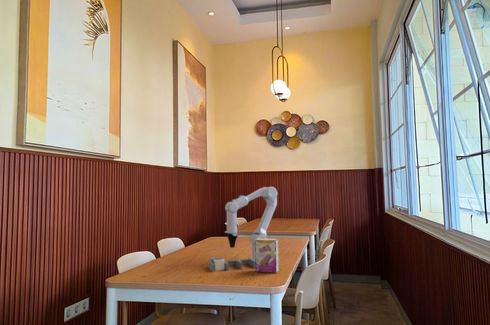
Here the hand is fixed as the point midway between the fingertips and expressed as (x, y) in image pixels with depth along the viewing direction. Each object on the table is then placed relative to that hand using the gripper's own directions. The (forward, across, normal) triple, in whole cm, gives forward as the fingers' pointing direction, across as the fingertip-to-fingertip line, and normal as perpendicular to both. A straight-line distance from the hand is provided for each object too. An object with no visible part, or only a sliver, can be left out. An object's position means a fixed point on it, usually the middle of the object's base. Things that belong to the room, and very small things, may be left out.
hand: (232, 247), depth 201 cm
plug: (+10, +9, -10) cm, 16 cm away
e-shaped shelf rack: (+9, +8, -2) cm, 12 cm away
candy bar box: (+10, +24, +12) cm, 28 cm away
